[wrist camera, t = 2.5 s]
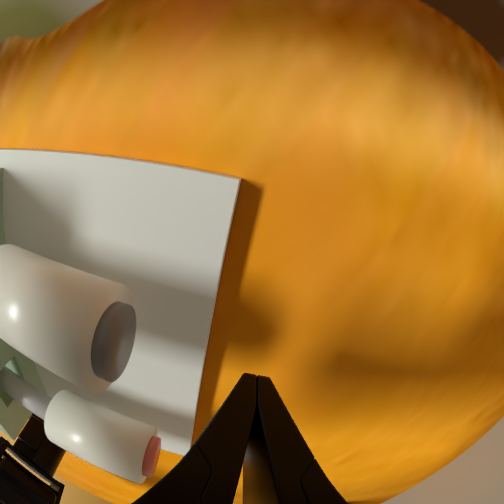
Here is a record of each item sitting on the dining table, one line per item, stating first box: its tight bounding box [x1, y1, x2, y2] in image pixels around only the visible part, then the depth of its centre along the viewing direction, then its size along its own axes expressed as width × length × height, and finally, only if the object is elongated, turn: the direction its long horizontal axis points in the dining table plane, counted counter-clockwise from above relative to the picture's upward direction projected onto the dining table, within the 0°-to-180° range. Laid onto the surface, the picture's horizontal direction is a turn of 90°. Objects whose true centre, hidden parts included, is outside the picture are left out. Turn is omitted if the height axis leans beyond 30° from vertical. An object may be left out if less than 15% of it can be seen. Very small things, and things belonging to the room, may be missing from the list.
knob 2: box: [0, 366, 161, 484], centre depth 11 cm, size 12×4×4 cm, turn 77°
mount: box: [0, 148, 242, 456], centre depth 10 cm, size 20×18×7 cm
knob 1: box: [0, 244, 136, 394], centre depth 8 cm, size 12×4×4 cm, turn 77°
